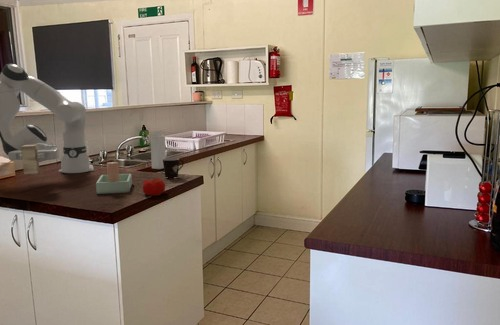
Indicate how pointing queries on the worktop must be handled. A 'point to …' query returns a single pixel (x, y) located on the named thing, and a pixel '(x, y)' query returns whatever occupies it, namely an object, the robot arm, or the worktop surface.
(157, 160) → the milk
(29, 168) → the block
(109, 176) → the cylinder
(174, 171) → the coffee mug
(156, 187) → the tomato
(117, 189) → the tote
